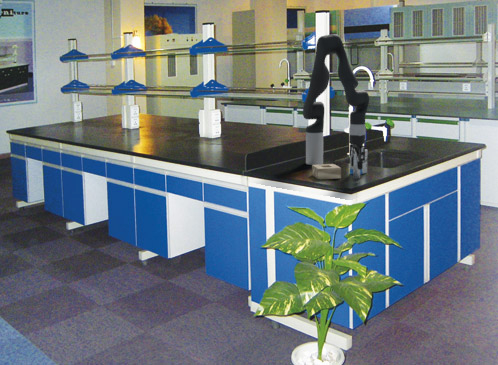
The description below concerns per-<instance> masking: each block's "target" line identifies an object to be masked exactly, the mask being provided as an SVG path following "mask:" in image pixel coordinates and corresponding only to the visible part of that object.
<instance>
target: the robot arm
mask: <svg viewBox="0 0 498 365" xmlns="http://www.w3.org/2000/svg"><path fill="white" fill-rule="evenodd" d="M334 54H335V55H336V56H337V58H338V68H337V75H338V78H339V80H340V83H341V85H342V87H343V89H344V90H343V91H344V95H345V100H346V102H347V103H348V105H349V106H351V107H356V108H355V109H354V110H352V111H351V112H350V115H349V129H348V135H349V136H348V141H349V142H348V143H349V154H348V155H349V157H350V156H351V166H354V153H355V155H356V157H357V160H358V169H363V161H365V149H366V148H365V147H363V145H365V144H366V131H367V129H366V114H367V111H368V108H369V104H370V95H369V93H368V92H367V90H363V89H360V90H356V88H357V87H358V85H359V81H358V79H357V77H356V75H355V73H354V71H353V69H352V66H351V64H350V62H349V58H348V55H347V52H346V49H345V46H344V43H343V40H342V38H341V37H340V35H338V34H337V33H331V34H326V35H322V36H319V37H318V39H317V42H316V48H315V57H314V64H313V68H312V73H311V75H310V76H311V77H310V81H309V87H308V91H307V95H306V98H305V100H304V104H303V106H302V107H303V108H302V115H303V116H302V117H303V118H304V119H305V120H315V121H314V122H313V123H312V124H309V125H307V126H306V127H305V164H306V165H308V166H309V165H310V166H312V165H322V164H324V124H325V105H324V103H323V102H322V101H316V100H317V99H318V98H319V97H320V96H321V95H322V94H323V93H324V92H325V91H326V90H327V88H328V86H329V81H330V78H331V74H330V70H329V69H328V67H327V65H326V58H327V56H329V55H334Z"/></svg>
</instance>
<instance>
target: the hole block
mask: <svg viewBox="0 0 498 365" xmlns="http://www.w3.org/2000/svg"><path fill="white" fill-rule="evenodd" d="M311 175H312V176H313V177H314V178H316V179H317V180H330V179H331V180H332V179H342V167H340V166H339V165H336V164H334V163H325V164H324V163H323V164H320V165H311Z"/></svg>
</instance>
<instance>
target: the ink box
mask: <svg viewBox="0 0 498 365" xmlns="http://www.w3.org/2000/svg"><path fill="white" fill-rule="evenodd" d="M353 167H354V166H351V156H349V175H353ZM367 173H368V149H366V148H365V161H363V169H360V175H363V174H367Z"/></svg>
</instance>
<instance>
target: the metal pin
mask: <svg viewBox="0 0 498 365" xmlns="http://www.w3.org/2000/svg"><path fill="white" fill-rule="evenodd" d="M352 175H353V177H352V178H353V179H354V180H360V179H361V174H360V169H358V160H357V157H356V155H355V153H354V167H353V174H352Z"/></svg>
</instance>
